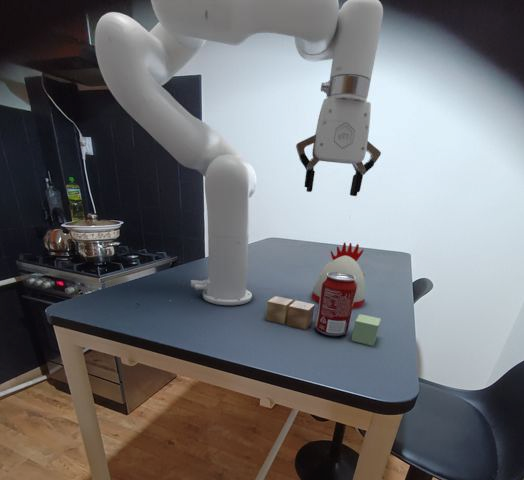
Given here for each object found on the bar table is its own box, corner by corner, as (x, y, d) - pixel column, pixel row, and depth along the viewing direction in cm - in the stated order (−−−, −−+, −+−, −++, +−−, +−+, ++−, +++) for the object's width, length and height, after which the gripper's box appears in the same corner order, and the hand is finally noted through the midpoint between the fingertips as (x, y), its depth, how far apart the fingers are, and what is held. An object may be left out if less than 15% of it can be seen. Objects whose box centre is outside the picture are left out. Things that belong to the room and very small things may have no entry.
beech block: (286, 325, 69) (288, 305, 67) (293, 318, 72) (295, 300, 70) (305, 329, 67) (308, 310, 65) (312, 322, 71) (314, 304, 69)
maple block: (265, 319, 71) (267, 301, 69) (273, 313, 74) (275, 295, 72) (284, 324, 69) (286, 305, 67) (291, 318, 73) (293, 299, 71)
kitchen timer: (369, 310, 81) (383, 249, 74) (315, 306, 81) (325, 245, 74) (356, 293, 93) (367, 240, 86) (309, 290, 93) (317, 236, 86)
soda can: (347, 340, 64) (359, 282, 58) (313, 335, 65) (323, 277, 59) (346, 327, 70) (357, 273, 64) (315, 323, 71) (324, 269, 65)
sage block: (350, 340, 64) (355, 320, 62) (355, 333, 68) (359, 313, 65) (373, 346, 62) (378, 325, 60) (376, 338, 66) (381, 318, 64)
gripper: (305, 82, 56) (293, 190, 64) (400, 93, 57) (376, 198, 65) (299, 93, 63) (289, 189, 71) (384, 102, 64) (364, 196, 72)
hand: (331, 193), depth 68 cm, fingers open, 9 cm apart
